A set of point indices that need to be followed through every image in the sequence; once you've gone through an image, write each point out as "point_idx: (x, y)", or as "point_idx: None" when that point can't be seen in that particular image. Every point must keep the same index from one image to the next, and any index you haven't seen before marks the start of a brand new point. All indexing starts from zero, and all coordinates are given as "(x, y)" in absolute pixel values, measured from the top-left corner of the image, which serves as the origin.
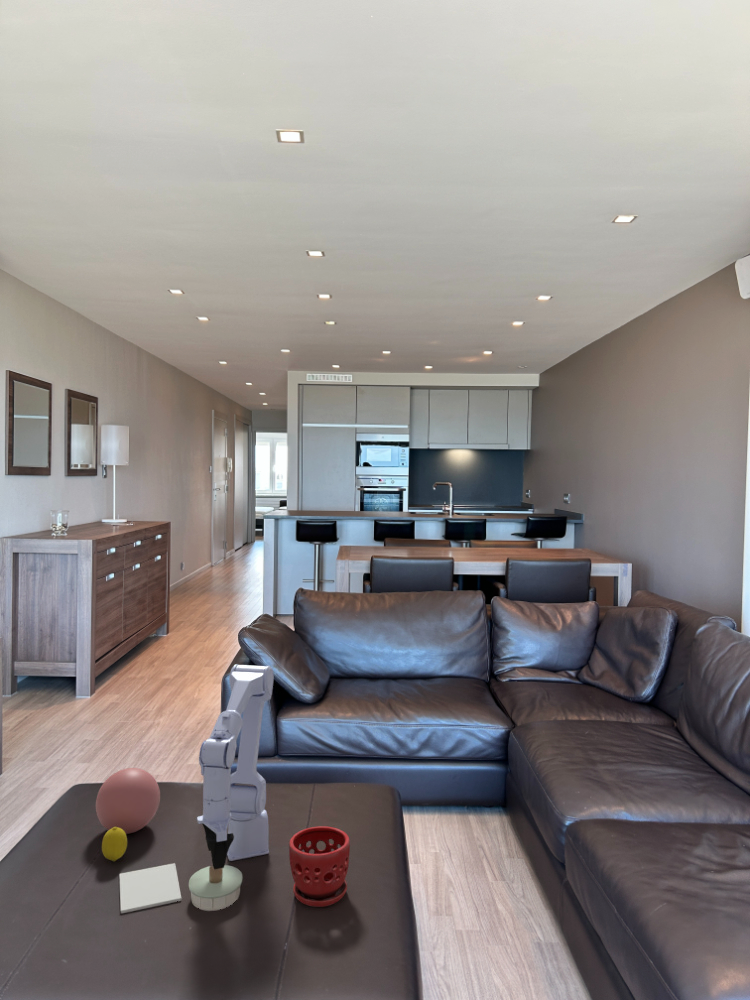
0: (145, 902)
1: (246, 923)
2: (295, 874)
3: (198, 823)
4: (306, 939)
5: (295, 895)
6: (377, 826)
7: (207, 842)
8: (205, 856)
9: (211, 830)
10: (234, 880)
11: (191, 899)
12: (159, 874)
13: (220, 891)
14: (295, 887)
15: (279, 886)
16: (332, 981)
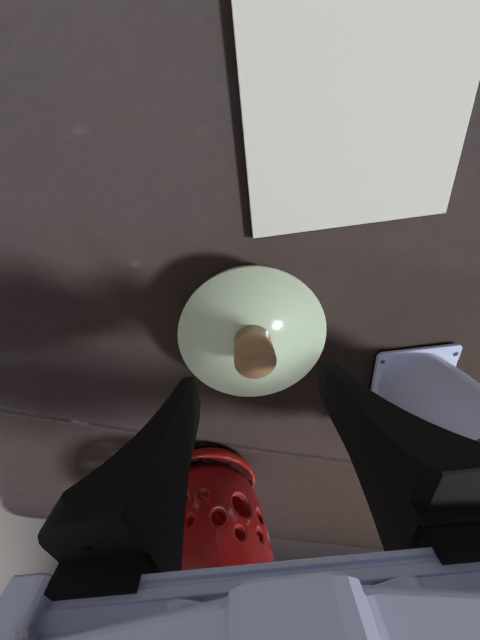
0: (259, 110)
1: (143, 373)
2: (188, 496)
3: (235, 587)
4: (96, 446)
5: (193, 453)
6: (361, 534)
7: (52, 511)
8: (434, 298)
9: (363, 440)
10: (235, 381)
11: (249, 265)
12: (407, 158)
13: (193, 351)
14: (212, 458)
15: (249, 425)
16: (5, 462)
